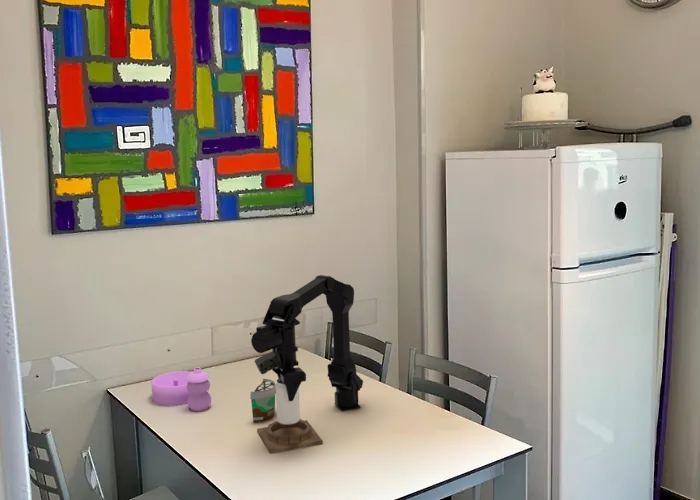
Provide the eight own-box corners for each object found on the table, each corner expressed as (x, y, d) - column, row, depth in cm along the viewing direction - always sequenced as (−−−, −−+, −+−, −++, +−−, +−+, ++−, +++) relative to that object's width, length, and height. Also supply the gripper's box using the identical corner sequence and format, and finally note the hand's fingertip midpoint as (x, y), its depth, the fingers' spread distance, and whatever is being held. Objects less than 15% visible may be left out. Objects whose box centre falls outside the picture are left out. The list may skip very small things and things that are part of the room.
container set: (144, 398, 232) (141, 359, 230) (184, 385, 243) (181, 349, 241) (185, 418, 215) (182, 377, 213) (226, 404, 225) (224, 364, 223)
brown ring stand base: (306, 423, 209) (306, 413, 208) (322, 443, 195) (322, 433, 195) (257, 431, 204) (256, 422, 203) (269, 453, 190) (269, 443, 190)
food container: (271, 425, 208) (269, 393, 206) (251, 424, 209) (249, 392, 208) (283, 409, 220) (282, 378, 218) (264, 408, 221) (263, 377, 219)
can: (303, 417, 201) (302, 377, 199) (294, 426, 195) (292, 385, 193) (283, 414, 203) (281, 375, 201) (273, 424, 197) (271, 383, 195)
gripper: (249, 337, 201) (252, 389, 203) (264, 357, 183) (267, 413, 186) (287, 332, 204) (289, 384, 207) (305, 351, 187) (307, 407, 190)
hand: (287, 396), depth 197 cm, fingers closed on can, 6 cm apart
